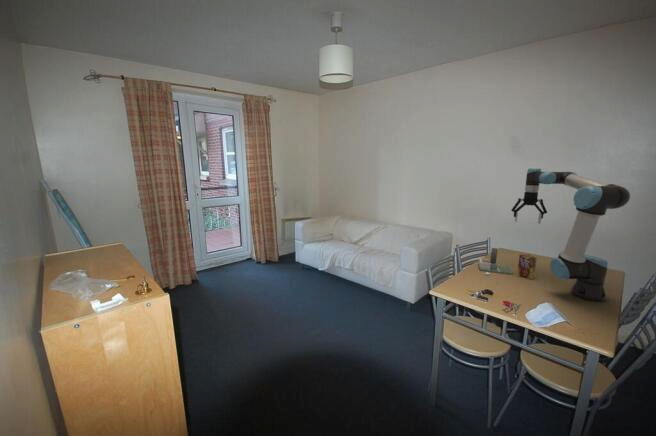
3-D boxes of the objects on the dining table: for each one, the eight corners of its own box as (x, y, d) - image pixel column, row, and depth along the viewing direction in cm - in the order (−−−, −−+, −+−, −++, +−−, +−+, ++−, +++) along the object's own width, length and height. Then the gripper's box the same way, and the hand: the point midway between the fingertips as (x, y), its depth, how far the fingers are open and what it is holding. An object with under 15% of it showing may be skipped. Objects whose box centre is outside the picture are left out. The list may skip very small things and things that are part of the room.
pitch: (512, 274, 198) (513, 267, 197) (480, 270, 205) (480, 263, 204) (508, 268, 210) (509, 261, 209) (477, 264, 217) (478, 257, 216)
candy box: (534, 278, 192) (537, 255, 190) (532, 279, 190) (535, 257, 187) (518, 274, 199) (521, 252, 196) (516, 275, 197) (519, 253, 194)
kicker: (497, 269, 204) (499, 250, 201) (489, 268, 206) (491, 249, 203) (495, 266, 210) (497, 247, 207) (487, 265, 211) (489, 247, 209)
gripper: (551, 191, 194) (547, 222, 198) (508, 190, 203) (505, 220, 207) (555, 192, 187) (551, 225, 191) (511, 191, 196) (507, 222, 200)
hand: (527, 222), depth 199 cm, fingers open, 13 cm apart
